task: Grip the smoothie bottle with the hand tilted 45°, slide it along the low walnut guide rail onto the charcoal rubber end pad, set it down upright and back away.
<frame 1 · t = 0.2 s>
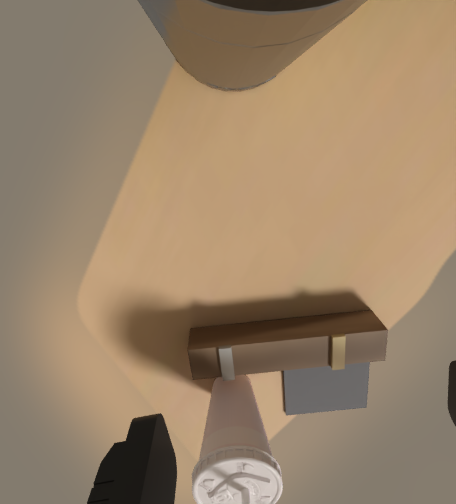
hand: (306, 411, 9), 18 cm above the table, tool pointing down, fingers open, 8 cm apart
smoothie: (231, 385, 32), on the table
end pad: (325, 377, 32), on the table
guide rail: (281, 333, 30), on the table
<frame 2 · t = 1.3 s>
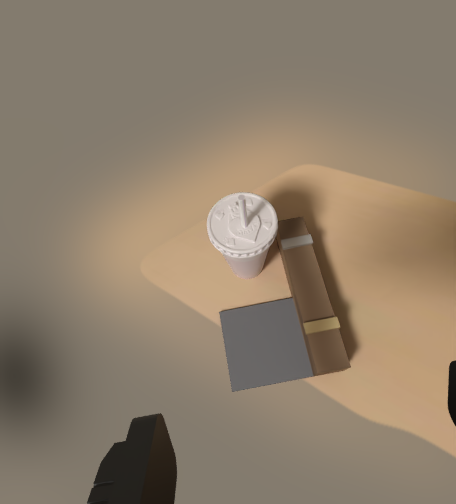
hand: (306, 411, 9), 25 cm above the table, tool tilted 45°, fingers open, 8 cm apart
smoothie: (247, 264, 38), on the table
end pad: (263, 342, 34), on the table
guide rail: (306, 295, 36), on the table
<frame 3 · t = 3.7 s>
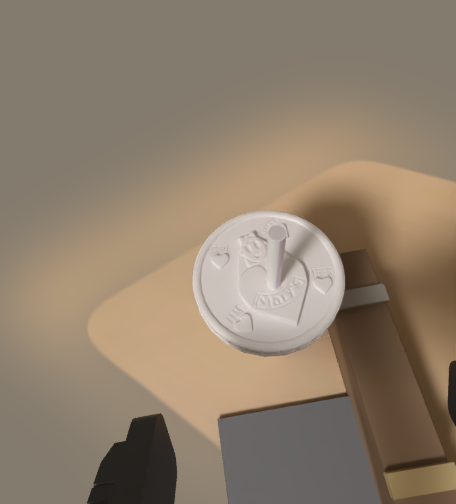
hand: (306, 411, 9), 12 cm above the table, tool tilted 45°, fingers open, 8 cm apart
smoothie: (265, 327, 23), on the table
end pad: (299, 486, 18), on the table
guide rail: (372, 391, 20), on the table
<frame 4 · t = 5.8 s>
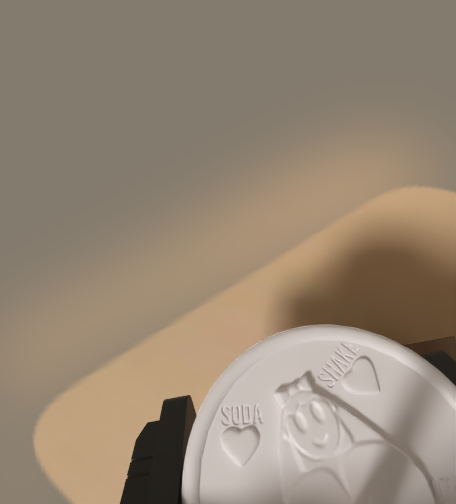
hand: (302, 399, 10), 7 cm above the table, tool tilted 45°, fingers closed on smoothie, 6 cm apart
smoothie: (295, 443, 15), on the table, touching gripper
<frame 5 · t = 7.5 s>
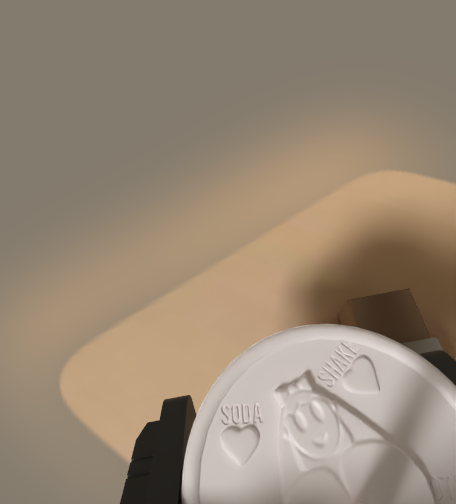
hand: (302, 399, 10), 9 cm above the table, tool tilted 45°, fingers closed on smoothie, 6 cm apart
smoothie: (295, 443, 15), point 2 cm above the table, touching gripper
guide rail: (420, 473, 16), on the table
when the fingers open (8 cm above the table, at t = 9.5 s): smoothie stays where it is, resting on end pad.
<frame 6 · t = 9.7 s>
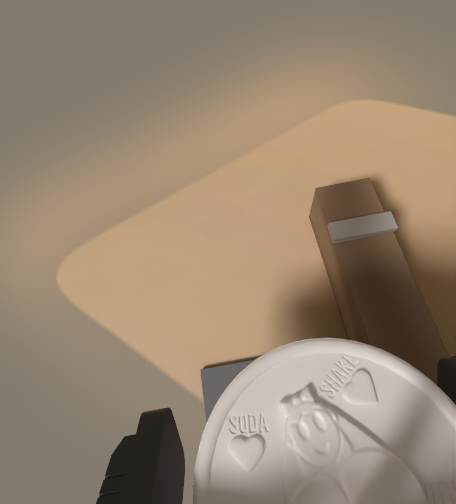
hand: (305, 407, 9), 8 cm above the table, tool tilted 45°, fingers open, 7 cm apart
smoothie: (297, 446, 16), resting on end pad
end pad: (294, 442, 16), on the table
guide rail: (377, 337, 17), on the table
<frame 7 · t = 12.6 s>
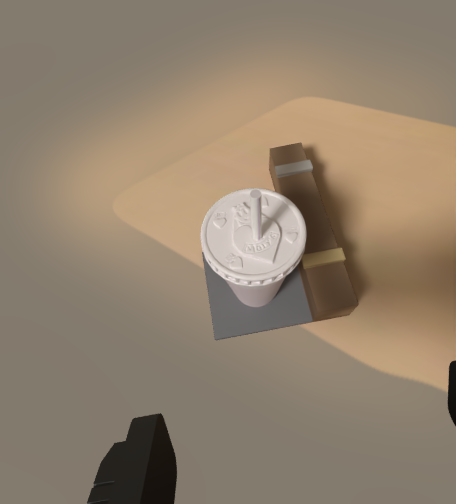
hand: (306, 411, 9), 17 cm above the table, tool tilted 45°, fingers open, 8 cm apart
smoothie: (255, 286, 28), resting on end pad
end pad: (254, 285, 29), on the table
guide rail: (304, 233, 30), on the table
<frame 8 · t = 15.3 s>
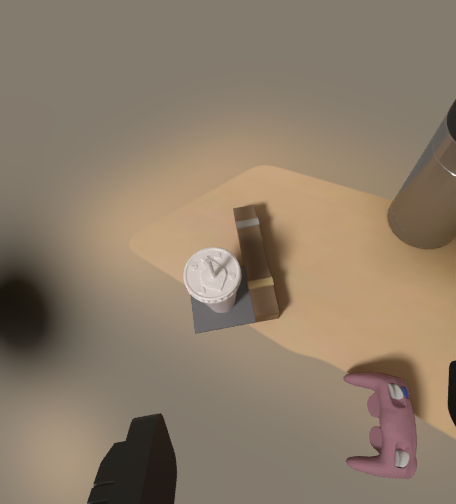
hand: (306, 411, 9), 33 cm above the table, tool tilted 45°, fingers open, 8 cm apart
smoothie: (221, 299, 45), resting on end pad
video game controller: (369, 420, 37), on the table
end pad: (220, 299, 45), on the table
guide rail: (254, 265, 47), on the table
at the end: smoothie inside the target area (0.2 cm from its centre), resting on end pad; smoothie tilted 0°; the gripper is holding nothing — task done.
